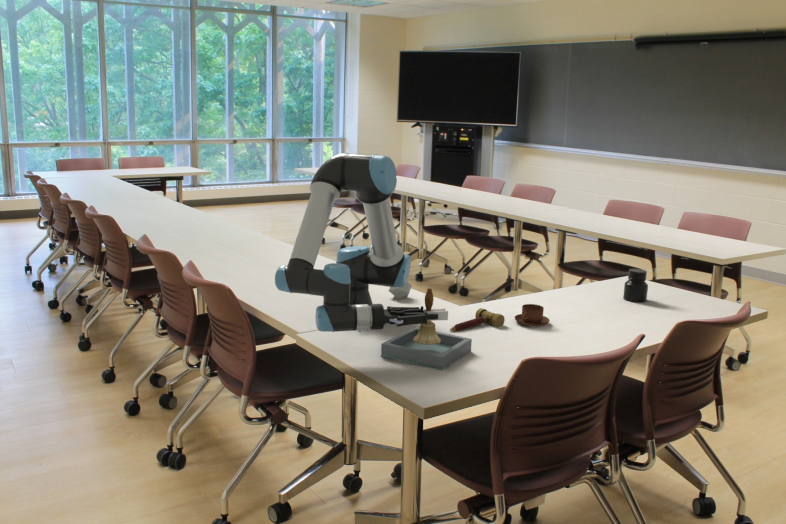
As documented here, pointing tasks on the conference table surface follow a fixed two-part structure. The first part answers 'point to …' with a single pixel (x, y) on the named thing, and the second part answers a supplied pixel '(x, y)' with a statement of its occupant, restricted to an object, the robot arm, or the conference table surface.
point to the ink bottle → (636, 286)
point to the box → (426, 349)
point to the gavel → (481, 320)
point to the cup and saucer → (532, 316)
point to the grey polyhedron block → (401, 291)
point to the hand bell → (427, 325)
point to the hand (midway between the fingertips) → (446, 314)
